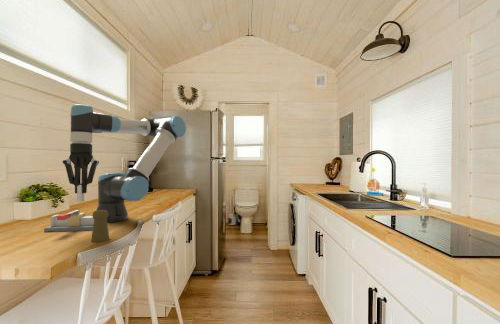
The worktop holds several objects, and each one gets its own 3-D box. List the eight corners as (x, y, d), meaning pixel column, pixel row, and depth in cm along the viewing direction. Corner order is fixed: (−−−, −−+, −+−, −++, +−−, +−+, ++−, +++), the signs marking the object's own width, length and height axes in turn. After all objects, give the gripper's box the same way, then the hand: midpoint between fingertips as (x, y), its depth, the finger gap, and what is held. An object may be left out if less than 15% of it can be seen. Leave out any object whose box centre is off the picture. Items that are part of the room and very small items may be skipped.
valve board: (105, 224, 122) (105, 211, 122) (96, 230, 112) (96, 215, 112) (57, 226, 119) (57, 212, 119) (44, 231, 109) (44, 217, 109)
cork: (96, 243, 95) (96, 212, 95) (87, 240, 98) (87, 210, 98) (112, 238, 100) (113, 209, 100) (103, 236, 103) (104, 208, 103)
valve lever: (81, 213, 117) (81, 209, 117) (64, 219, 103) (64, 215, 103) (74, 213, 117) (74, 209, 117) (56, 220, 103) (56, 216, 103)
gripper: (102, 144, 112) (101, 200, 112) (68, 143, 110) (67, 200, 110) (95, 142, 105) (94, 202, 104) (58, 142, 102) (57, 203, 102)
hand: (80, 201), depth 107 cm, fingers closed
